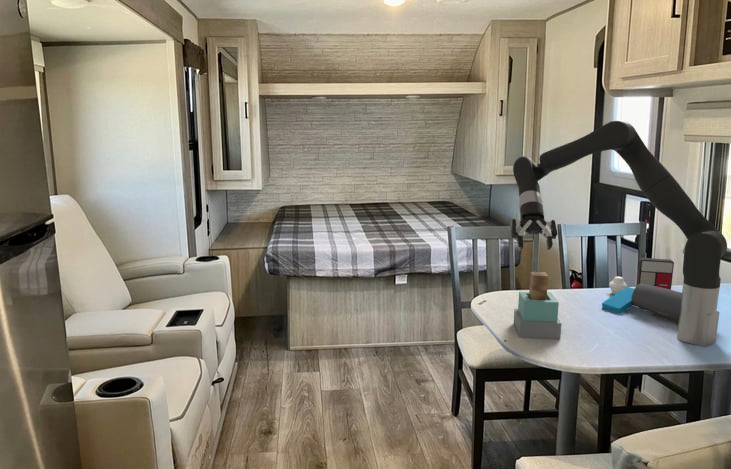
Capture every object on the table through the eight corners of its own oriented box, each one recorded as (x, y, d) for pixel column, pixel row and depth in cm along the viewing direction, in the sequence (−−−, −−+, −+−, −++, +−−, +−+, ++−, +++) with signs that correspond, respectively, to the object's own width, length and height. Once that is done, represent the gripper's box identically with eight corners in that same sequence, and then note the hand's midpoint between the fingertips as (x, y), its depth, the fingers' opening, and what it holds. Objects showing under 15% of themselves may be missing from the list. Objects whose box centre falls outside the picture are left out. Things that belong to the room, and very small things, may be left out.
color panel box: (637, 299, 203) (641, 260, 200) (635, 295, 207) (639, 257, 204) (670, 302, 200) (674, 262, 197) (667, 298, 204) (671, 259, 201)
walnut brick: (543, 298, 171) (545, 272, 169) (546, 302, 166) (548, 276, 165) (528, 298, 171) (530, 271, 170) (531, 302, 167) (533, 275, 165)
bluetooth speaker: (711, 327, 174) (715, 297, 172) (695, 332, 170) (699, 302, 168) (645, 307, 194) (648, 280, 192) (629, 311, 189) (631, 284, 187)
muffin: (624, 297, 205) (625, 279, 204) (606, 294, 209) (608, 276, 208) (627, 293, 210) (629, 275, 209) (610, 290, 214) (612, 273, 212)
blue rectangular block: (621, 326, 188) (652, 304, 196) (619, 308, 186) (651, 287, 194) (603, 320, 194) (634, 299, 202) (601, 303, 192) (633, 282, 200)
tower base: (551, 325, 176) (553, 291, 174) (560, 339, 164) (562, 303, 162) (513, 323, 177) (515, 290, 175) (519, 337, 166) (521, 302, 163)
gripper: (511, 200, 181) (514, 241, 172) (555, 201, 179) (561, 242, 170) (507, 213, 187) (511, 253, 178) (550, 214, 185) (556, 254, 176)
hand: (535, 248), depth 174 cm, fingers open, 8 cm apart
